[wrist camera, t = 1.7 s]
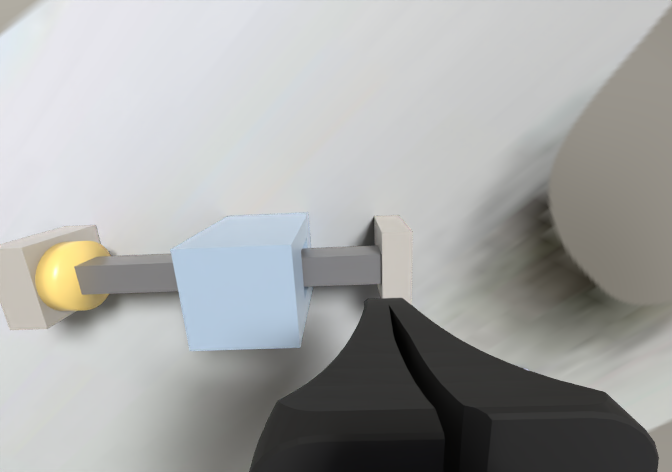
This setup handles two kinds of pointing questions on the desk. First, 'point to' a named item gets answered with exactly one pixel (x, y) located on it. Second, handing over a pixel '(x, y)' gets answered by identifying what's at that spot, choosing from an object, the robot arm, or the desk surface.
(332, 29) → the desk surface
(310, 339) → the desk surface
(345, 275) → the grey bar rail
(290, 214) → the light blue sliding block
